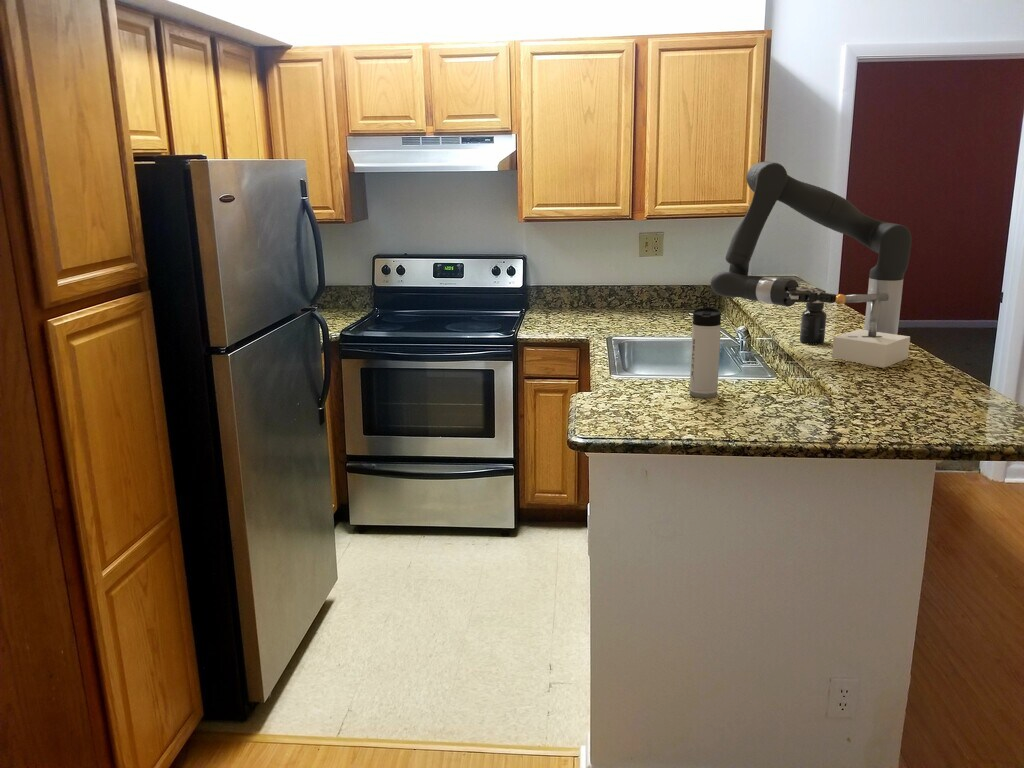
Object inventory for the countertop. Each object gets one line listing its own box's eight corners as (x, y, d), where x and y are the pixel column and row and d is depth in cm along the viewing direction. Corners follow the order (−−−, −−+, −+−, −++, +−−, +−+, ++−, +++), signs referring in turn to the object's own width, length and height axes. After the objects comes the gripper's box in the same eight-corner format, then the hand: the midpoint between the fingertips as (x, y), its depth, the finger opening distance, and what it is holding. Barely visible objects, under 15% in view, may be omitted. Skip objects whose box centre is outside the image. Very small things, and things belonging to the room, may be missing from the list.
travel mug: (718, 391, 187) (722, 307, 182) (715, 399, 181) (720, 312, 176) (691, 389, 189) (694, 306, 184) (687, 397, 183) (691, 311, 178)
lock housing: (856, 350, 224) (858, 328, 222) (907, 358, 213) (910, 336, 212) (831, 358, 215) (833, 336, 213) (883, 367, 205) (886, 344, 203)
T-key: (879, 334, 214) (883, 291, 211) (885, 336, 212) (890, 292, 208) (829, 336, 212) (833, 293, 209) (835, 339, 209) (838, 295, 206)
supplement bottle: (826, 345, 231) (829, 304, 227) (801, 344, 232) (804, 303, 229) (822, 340, 237) (825, 300, 234) (798, 339, 238) (801, 299, 235)
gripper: (764, 280, 217) (822, 287, 204) (791, 275, 225) (849, 282, 212) (761, 307, 219) (819, 316, 206) (789, 302, 227) (846, 310, 214)
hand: (834, 298), depth 209 cm, fingers closed
